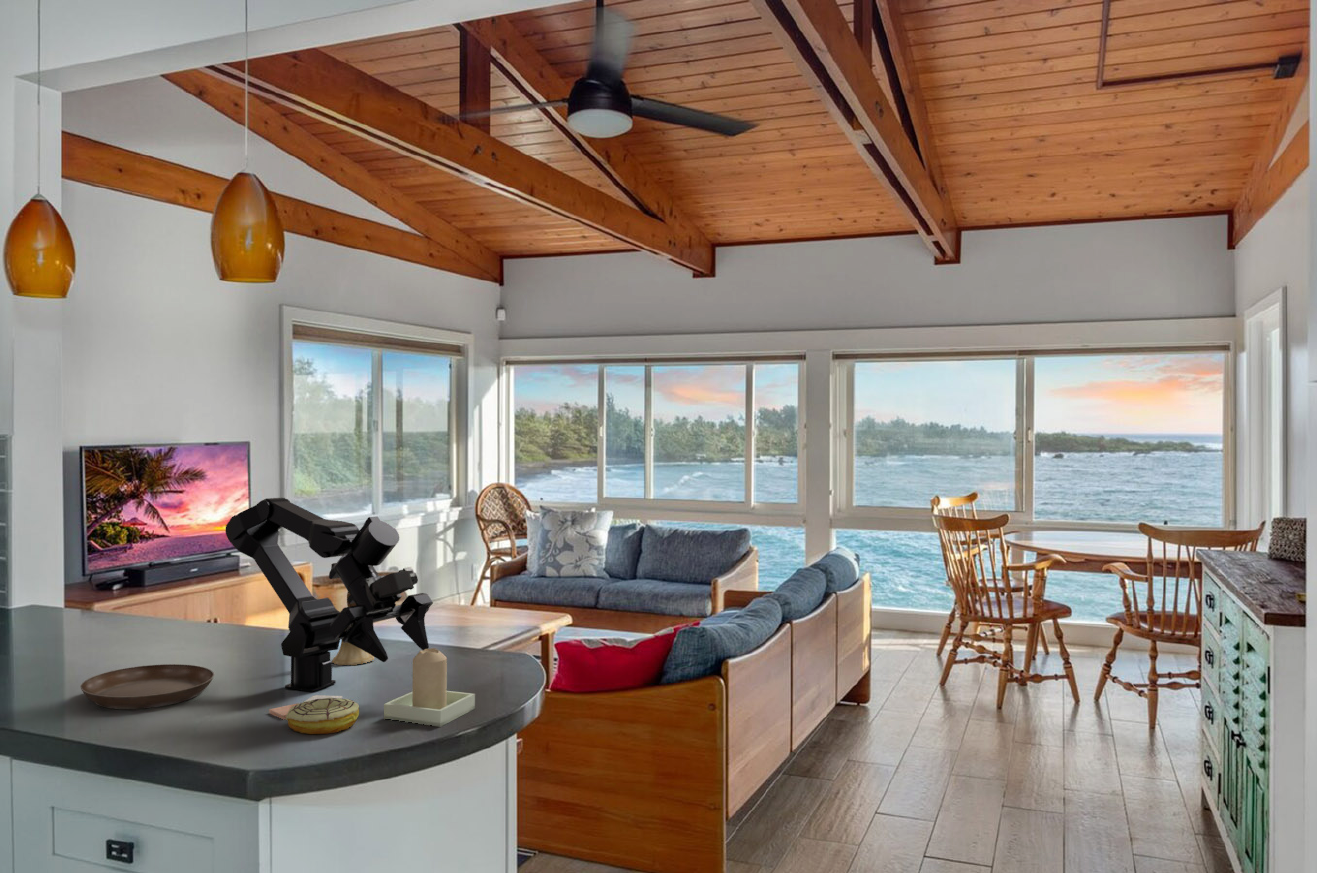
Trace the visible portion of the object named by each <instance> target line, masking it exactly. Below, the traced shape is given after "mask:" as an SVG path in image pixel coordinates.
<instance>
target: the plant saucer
mask: <svg viewBox="0 0 1317 873" xmlns="http://www.w3.org/2000/svg"><path fill="white" fill-rule="evenodd" d="M214 677H215V672H214V671H213V670H211V669H210V668H208V667H204V666H199V665H195V664H178V663H177V664H173V663H172V664H170V663H169V664H167V663H166V664H165V663H164V664H163V663H162V664H151V665H150V664H149V665H138V666H134V667H133V666H131V667H125V668H121V669H119V668H118V669H115V670H111V671H106V672H103V673H100V674H97V675H93V676H91V677H89V678H88V679H86V680H85V681H84V680H83V682H82V683H81V684H80V690H81V691H82V692H83V694H84V695H85V696H86V697H87V699H89V700H90V701H91V702H93V703H95V704H96V705H97V706H100V707H103V708H106V709H112V708H115V709H114V710H140V709H139V708H142V709H151V707H152V708H159V707H165V706H164V705H166V706H169V705H175V704H179V703H183V702H185V701H189V700H191V699H193V698H195V697H197V696H199V695H200V694H201V693H202V692H204V690H206V689H207V687H208V686H209V685H210V684H211V682H212V681H213V679H214ZM158 706H159V707H158Z"/></svg>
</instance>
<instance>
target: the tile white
mask: <svg viewBox="0 0 1317 873" xmlns="http://www.w3.org/2000/svg"><path fill="white" fill-rule="evenodd" d="M324 698H341V699H343V695H324V694H323V695H316V694H314V695H313V696H312V695H311V697H309V698H306V700H305V701H303V702H307V701H311V700H315V699H324Z"/></svg>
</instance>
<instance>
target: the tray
mask: <svg viewBox="0 0 1317 873" xmlns="http://www.w3.org/2000/svg"><path fill="white" fill-rule="evenodd" d="M412 692H413V690H411V692H408V693H406V694H404V695H402V696H399V697H397V698H394V699H392V700H390V701H388V702H386V703H384V704H383V720H385V719H393V720H399V721H398V722H400V721H405V722H404V723H408V722H412V723H411V724H415V723H418V724H417V725H423V724H424V725H423V726H430V725H432V727H440V728H441V727H443V726H444V725H446V724H448V723H451V722H453V721H454V720H456V719H458V718H460V717H462V716H463V715H466V714H467V713H470V712H472V711H473V710H475V709H476V693H472V692H462V691H454V690H453V691H452V690H451V691H450V690H447V704H446V707H444V708H442V709H440V710H438V709H430V708H422V707H414V706H412Z"/></svg>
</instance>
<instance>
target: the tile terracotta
mask: <svg viewBox="0 0 1317 873" xmlns="http://www.w3.org/2000/svg"><path fill="white" fill-rule="evenodd" d="M297 704H299V703H292V704H289V705H288V704H287V705H283V706H279V707H274V708H269V710H268V713H270V715H272V716H274V717H276V716H277V717H276V718H278V717H279V718H278V719H280V718H281V720H282V719H283V721H285V720H286V716H287V713H288V711H289V709H290V708H292V707H293V706H295V705H297ZM284 719H285V720H284Z"/></svg>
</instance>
